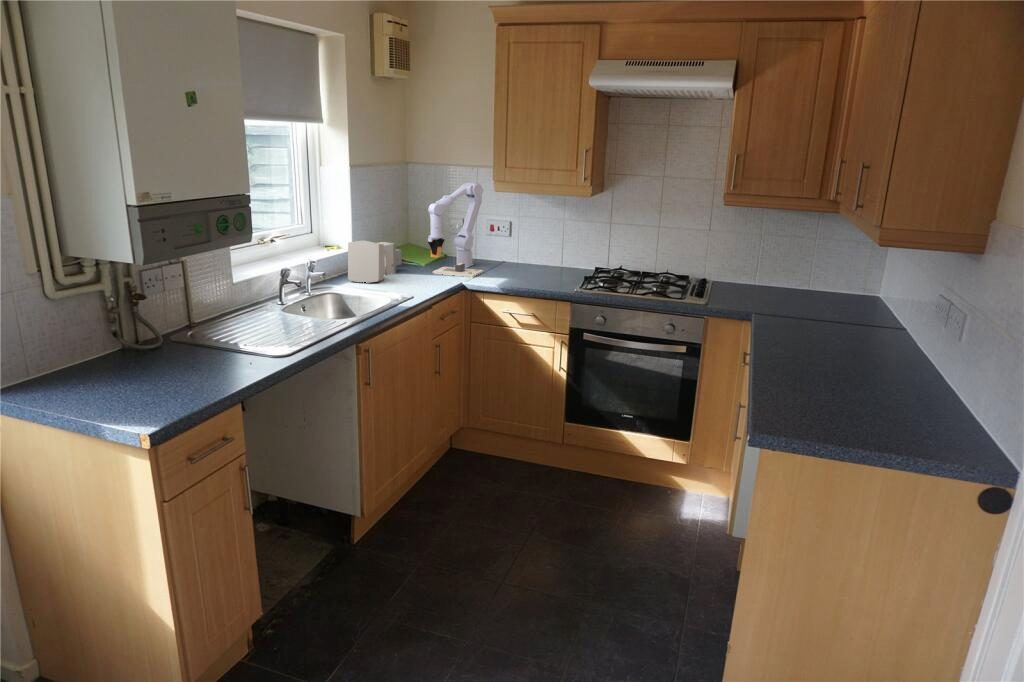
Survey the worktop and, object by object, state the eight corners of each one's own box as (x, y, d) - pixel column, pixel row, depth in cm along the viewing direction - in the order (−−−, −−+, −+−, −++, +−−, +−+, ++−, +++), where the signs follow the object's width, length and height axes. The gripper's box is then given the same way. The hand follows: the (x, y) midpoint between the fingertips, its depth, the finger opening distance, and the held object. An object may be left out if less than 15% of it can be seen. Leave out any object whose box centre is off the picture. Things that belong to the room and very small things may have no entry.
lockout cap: (434, 255, 354) (434, 246, 353) (441, 256, 353) (441, 246, 351) (430, 257, 351) (430, 247, 349) (437, 257, 349) (437, 248, 348)
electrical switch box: (387, 282, 333) (387, 240, 330) (378, 284, 318) (378, 240, 315) (357, 280, 334) (358, 239, 331) (347, 282, 319) (348, 239, 316)
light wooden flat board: (444, 268, 357) (444, 265, 356) (483, 272, 350) (483, 269, 350) (432, 273, 344) (432, 270, 344) (472, 277, 338) (472, 274, 337)
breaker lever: (459, 269, 349) (459, 262, 348) (464, 269, 348) (464, 263, 347) (455, 270, 345) (455, 264, 344) (460, 271, 344) (460, 264, 343)
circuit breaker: (404, 271, 349) (403, 241, 344) (385, 275, 337) (384, 245, 332) (392, 269, 352) (392, 240, 348) (373, 273, 341) (372, 243, 336)
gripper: (435, 225, 355) (435, 251, 359) (422, 228, 342) (422, 255, 346) (447, 226, 353) (447, 252, 357) (435, 229, 340) (435, 256, 344)
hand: (436, 253), depth 351 cm, fingers closed on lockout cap, 4 cm apart
